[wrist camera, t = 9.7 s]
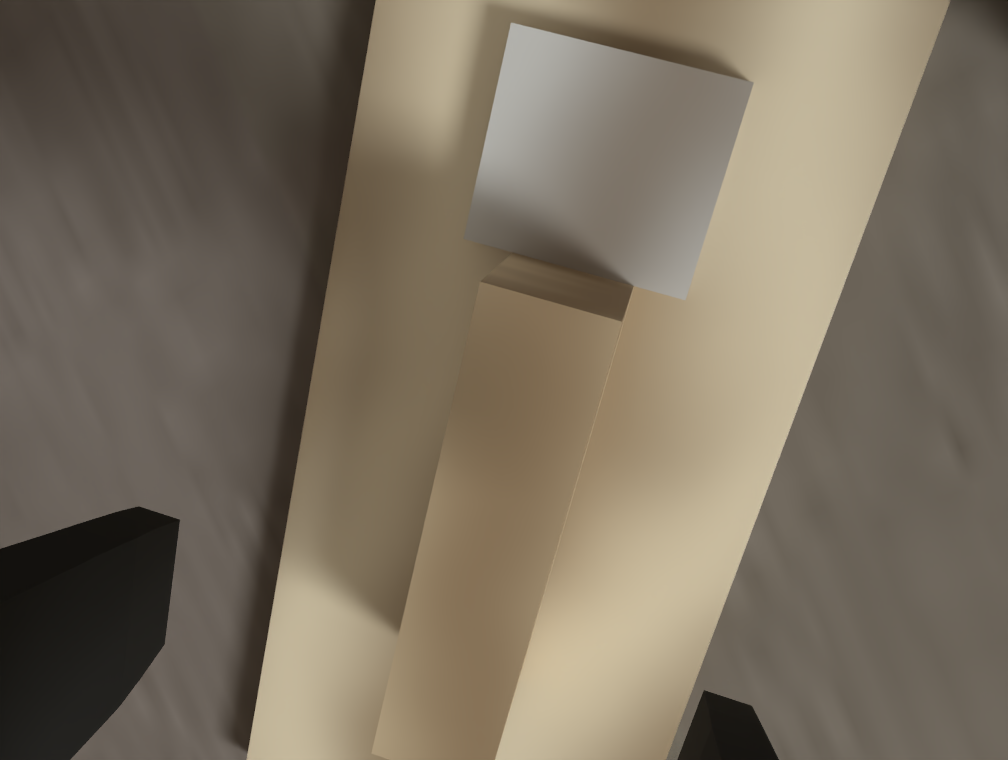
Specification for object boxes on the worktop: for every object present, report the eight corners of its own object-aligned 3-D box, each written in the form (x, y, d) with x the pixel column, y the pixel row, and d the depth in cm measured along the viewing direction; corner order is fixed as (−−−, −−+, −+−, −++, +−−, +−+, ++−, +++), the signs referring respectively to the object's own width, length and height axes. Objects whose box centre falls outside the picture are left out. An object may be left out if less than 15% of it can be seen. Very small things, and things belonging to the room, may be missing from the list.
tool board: (258, 761, 25) (241, 787, 24) (413, -116, 18) (397, -127, 17) (609, 886, 24) (606, 918, 23) (935, 5, 16) (950, 0, 15)
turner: (382, 637, 22) (324, 737, 18) (519, 25, 17) (474, 9, 14) (559, 695, 21) (533, 810, 18) (751, 82, 17) (764, 81, 13)
